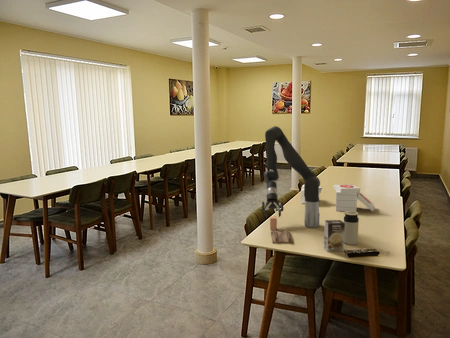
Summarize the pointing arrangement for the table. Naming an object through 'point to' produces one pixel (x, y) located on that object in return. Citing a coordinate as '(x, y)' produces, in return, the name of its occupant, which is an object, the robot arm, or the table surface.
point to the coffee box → (334, 235)
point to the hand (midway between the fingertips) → (272, 216)
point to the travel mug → (351, 227)
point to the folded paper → (303, 194)
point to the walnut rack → (281, 236)
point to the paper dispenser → (350, 198)
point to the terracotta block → (273, 223)
